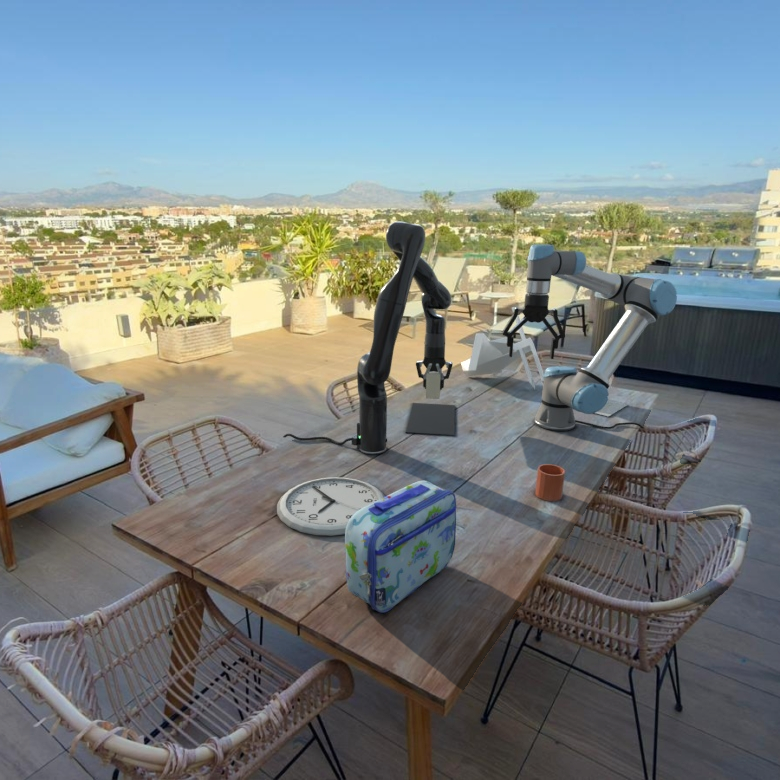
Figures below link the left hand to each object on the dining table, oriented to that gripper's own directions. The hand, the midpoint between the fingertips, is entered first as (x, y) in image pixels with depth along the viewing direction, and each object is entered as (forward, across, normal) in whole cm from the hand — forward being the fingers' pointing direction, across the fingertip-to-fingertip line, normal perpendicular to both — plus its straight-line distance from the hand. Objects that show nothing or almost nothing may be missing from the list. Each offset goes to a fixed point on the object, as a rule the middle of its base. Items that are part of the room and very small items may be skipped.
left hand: (433, 388), depth 196 cm
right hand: (-16, -33, +11) cm, 38 cm away
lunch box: (+15, +2, +94) cm, 95 cm away
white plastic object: (+16, -30, -64) cm, 73 cm away
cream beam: (+3, 0, -9) cm, 9 cm away
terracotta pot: (+16, -36, +48) cm, 62 cm away
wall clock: (+15, +24, +64) cm, 70 cm away
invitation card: (+16, -71, -36) cm, 81 cm away
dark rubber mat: (+15, 0, -9) cm, 18 cm away
